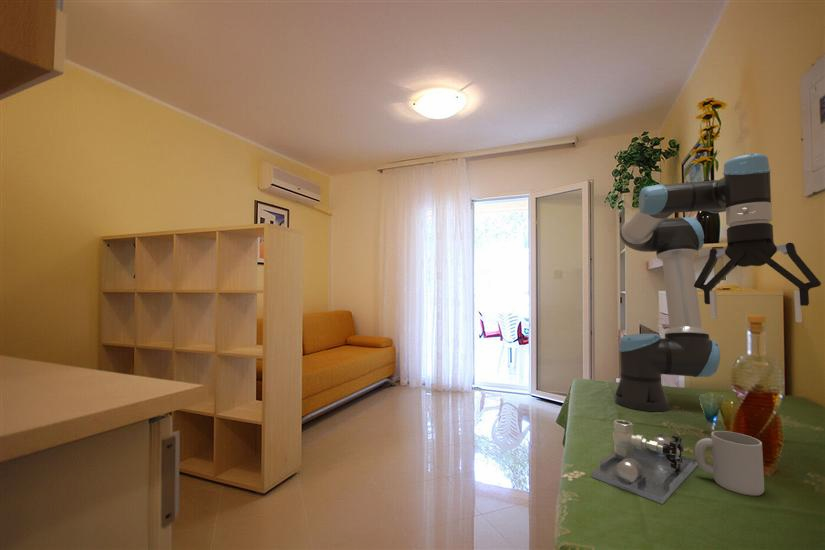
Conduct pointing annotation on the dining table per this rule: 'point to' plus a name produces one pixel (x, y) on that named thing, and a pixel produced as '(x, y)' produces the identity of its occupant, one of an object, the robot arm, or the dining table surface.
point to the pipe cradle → (645, 472)
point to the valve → (644, 443)
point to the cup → (733, 461)
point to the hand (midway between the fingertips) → (753, 320)
